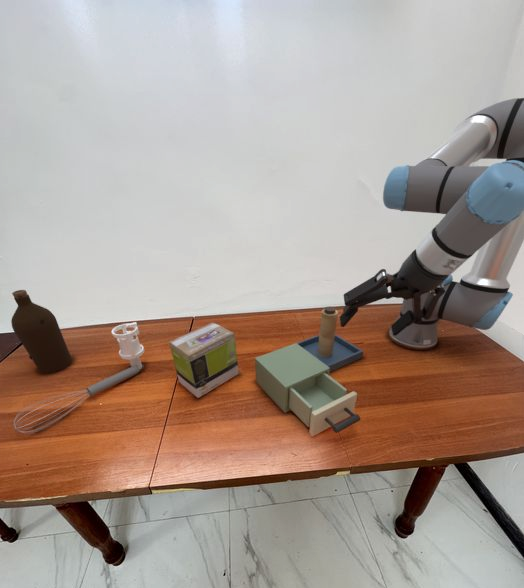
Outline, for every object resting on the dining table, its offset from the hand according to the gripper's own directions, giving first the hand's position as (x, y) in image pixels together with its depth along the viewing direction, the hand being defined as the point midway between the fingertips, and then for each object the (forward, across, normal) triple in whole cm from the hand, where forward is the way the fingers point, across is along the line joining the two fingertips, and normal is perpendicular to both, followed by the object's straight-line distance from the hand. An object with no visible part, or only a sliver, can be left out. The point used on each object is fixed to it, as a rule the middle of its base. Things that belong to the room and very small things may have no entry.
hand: (368, 326), depth 70 cm
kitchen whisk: (+36, -66, -13) cm, 76 cm away
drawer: (+16, -7, -17) cm, 24 cm away
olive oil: (+48, -83, +1) cm, 96 cm away
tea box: (+31, -34, -5) cm, 47 cm away
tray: (+27, +2, +7) cm, 28 cm away
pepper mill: (+26, +1, +7) cm, 27 cm away
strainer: (+40, -57, 0) cm, 70 cm away
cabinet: (+23, -12, -8) cm, 27 cm away
